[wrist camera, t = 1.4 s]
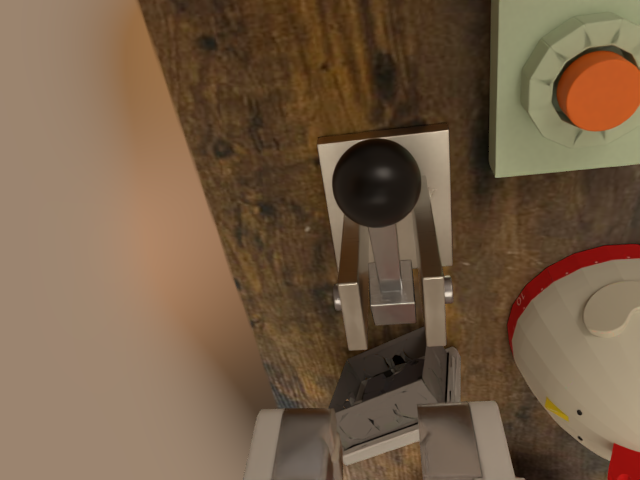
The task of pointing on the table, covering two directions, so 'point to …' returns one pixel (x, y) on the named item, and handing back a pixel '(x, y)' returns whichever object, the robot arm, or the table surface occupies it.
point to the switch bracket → (413, 232)
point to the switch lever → (381, 219)
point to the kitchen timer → (586, 350)
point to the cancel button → (599, 91)
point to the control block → (554, 84)
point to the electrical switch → (391, 394)
